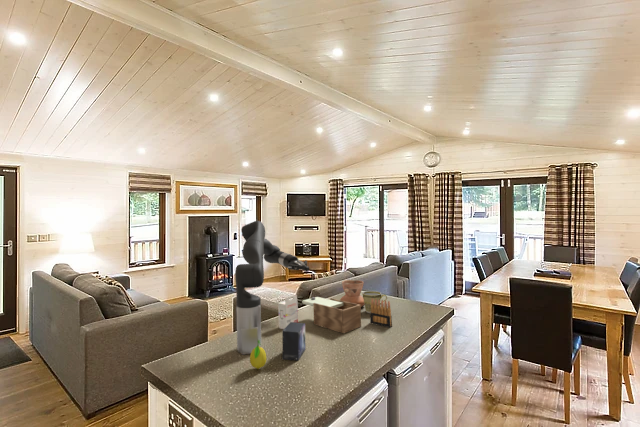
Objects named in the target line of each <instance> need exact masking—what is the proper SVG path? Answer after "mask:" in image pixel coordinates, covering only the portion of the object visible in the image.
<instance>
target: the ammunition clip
mask: <svg viewBox="0 0 640 427" xmlns="http://www.w3.org/2000/svg"><path fill="white" fill-rule="evenodd" d="M384 300H385V299H384ZM384 300H383V299H380V300H379V299H378V307H377V300H376V298H375V303H374V301H373V298H372V300H371V313H369V314H370V315H369V320H370V321H369V322H370V323H369V324H372V323H373V325H376V324H377V326H381V327H386V328H392V327H393V319H392V310H391V302H390V300H388V301H387V300H385V301H384ZM383 301H384V302H383ZM380 303H381V305H380Z"/></svg>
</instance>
